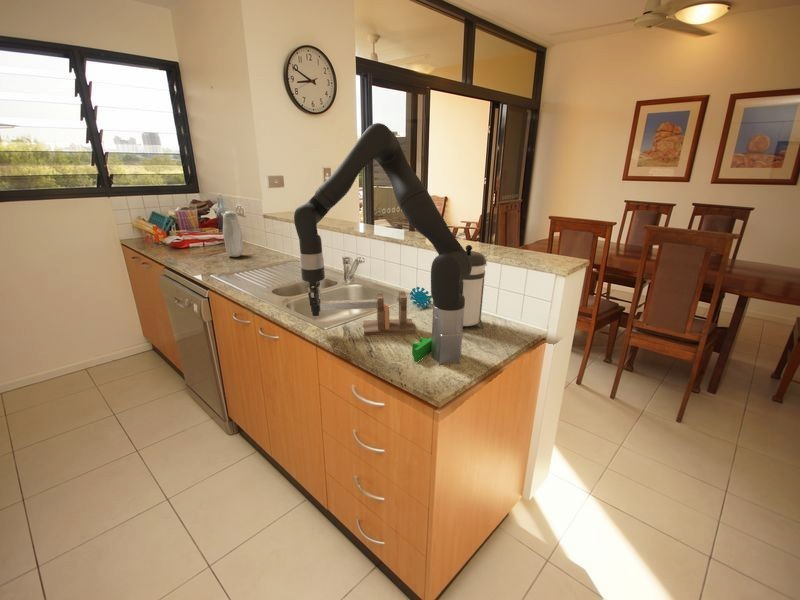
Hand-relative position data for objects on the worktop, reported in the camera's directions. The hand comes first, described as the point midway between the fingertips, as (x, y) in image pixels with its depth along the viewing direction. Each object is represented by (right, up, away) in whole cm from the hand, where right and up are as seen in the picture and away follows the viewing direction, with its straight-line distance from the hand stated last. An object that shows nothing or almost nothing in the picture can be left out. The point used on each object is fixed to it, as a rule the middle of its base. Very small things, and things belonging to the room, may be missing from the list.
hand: (316, 313), depth 130 cm
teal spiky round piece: (+38, +2, +27) cm, 47 cm away
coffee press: (+52, -5, +9) cm, 53 cm away
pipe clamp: (+36, -13, -12) cm, 40 cm away
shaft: (+10, +1, +1) cm, 10 cm away
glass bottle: (-74, +32, +104) cm, 131 cm away
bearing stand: (+25, -6, +5) cm, 26 cm away
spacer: (+24, -5, +5) cm, 25 cm away
